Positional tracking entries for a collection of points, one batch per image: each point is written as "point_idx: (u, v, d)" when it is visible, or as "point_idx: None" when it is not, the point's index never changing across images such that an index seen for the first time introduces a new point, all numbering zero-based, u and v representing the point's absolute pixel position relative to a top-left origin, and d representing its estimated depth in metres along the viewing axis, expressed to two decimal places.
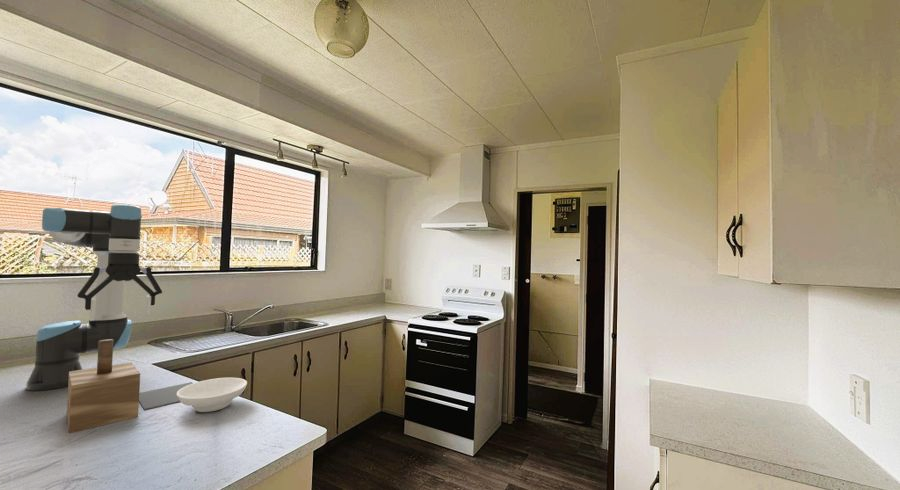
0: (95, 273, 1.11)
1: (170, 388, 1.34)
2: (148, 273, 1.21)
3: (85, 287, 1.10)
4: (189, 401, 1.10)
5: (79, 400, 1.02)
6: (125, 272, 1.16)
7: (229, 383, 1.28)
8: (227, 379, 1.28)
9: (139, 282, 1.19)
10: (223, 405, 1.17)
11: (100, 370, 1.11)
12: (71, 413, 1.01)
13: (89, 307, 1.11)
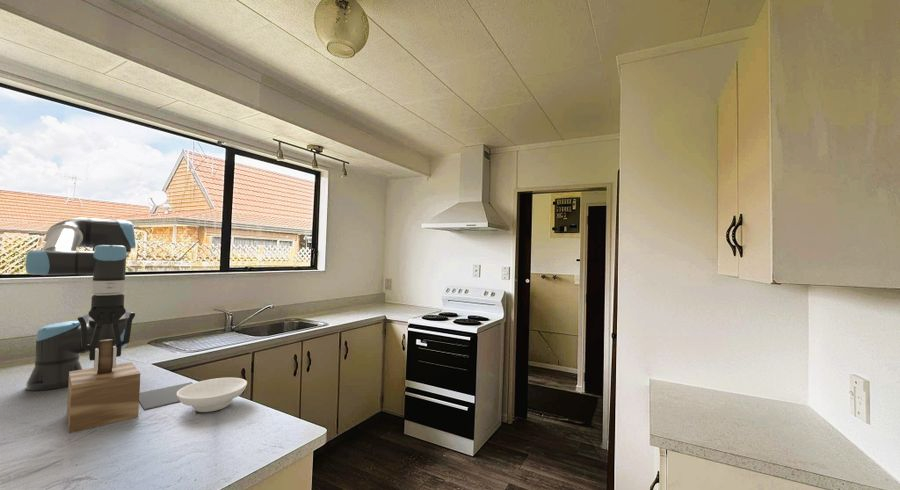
0: (82, 323, 1.08)
1: (170, 388, 1.34)
2: (129, 319, 1.16)
3: (83, 338, 1.08)
4: (189, 401, 1.10)
5: (80, 400, 1.02)
6: (109, 313, 1.13)
7: (229, 383, 1.28)
8: (227, 379, 1.28)
9: (115, 328, 1.14)
10: (223, 405, 1.17)
11: (100, 370, 1.11)
12: (71, 413, 1.01)
13: (93, 357, 1.10)
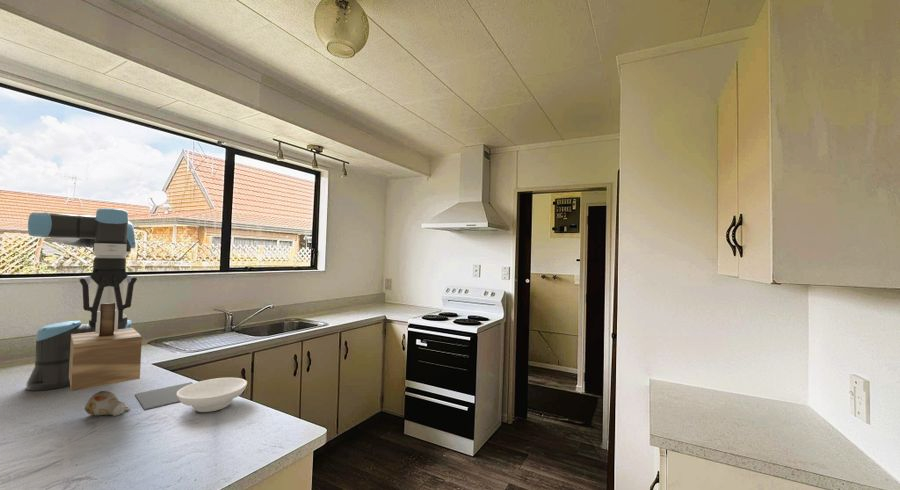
0: (84, 284, 1.09)
1: (170, 388, 1.34)
2: (131, 283, 1.17)
3: (85, 300, 1.09)
4: (189, 401, 1.10)
5: (81, 359, 1.03)
6: (111, 276, 1.14)
7: (229, 383, 1.28)
8: (227, 379, 1.28)
9: (116, 291, 1.14)
10: (223, 405, 1.17)
11: (102, 332, 1.12)
12: (73, 371, 1.02)
13: (95, 319, 1.11)
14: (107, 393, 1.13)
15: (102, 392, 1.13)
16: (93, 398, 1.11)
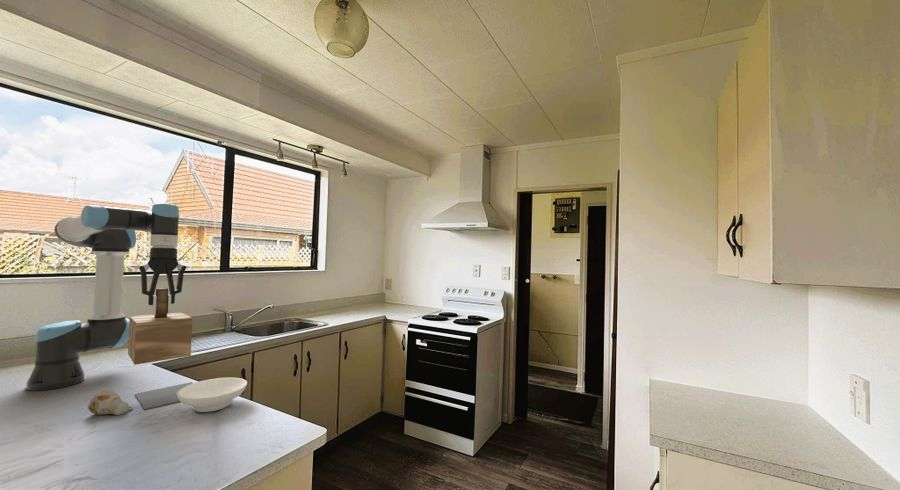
0: (142, 271, 1.22)
1: (170, 388, 1.34)
2: (181, 271, 1.30)
3: (143, 285, 1.22)
4: (189, 401, 1.10)
5: (143, 337, 1.16)
6: (165, 264, 1.27)
7: (229, 383, 1.28)
8: (227, 379, 1.28)
9: (169, 277, 1.27)
10: (223, 405, 1.17)
11: (157, 314, 1.25)
12: (136, 347, 1.15)
13: (152, 303, 1.24)
14: (110, 392, 1.14)
15: (105, 391, 1.14)
16: (96, 397, 1.11)
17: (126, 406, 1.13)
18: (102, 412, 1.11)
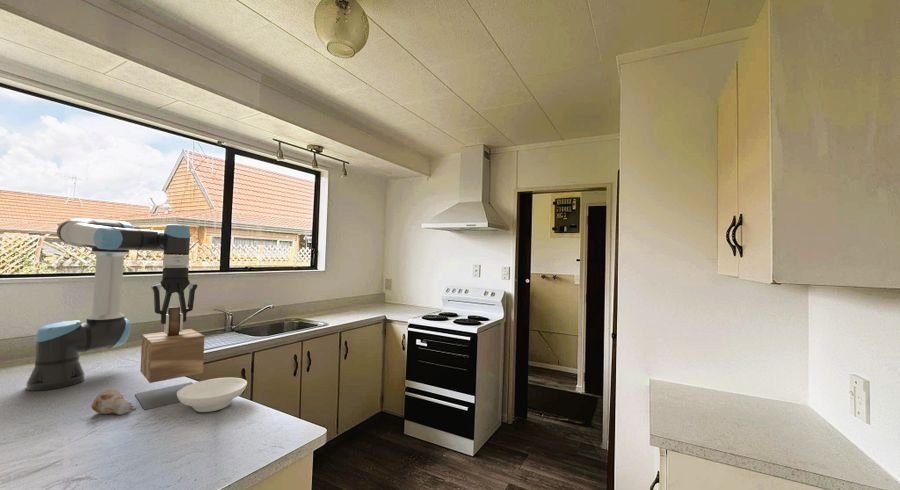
0: (156, 291, 1.25)
1: (170, 388, 1.34)
2: (192, 289, 1.33)
3: (156, 304, 1.25)
4: (189, 401, 1.10)
5: (157, 355, 1.19)
6: (177, 283, 1.30)
7: (229, 383, 1.28)
8: (227, 379, 1.28)
9: (181, 296, 1.31)
10: (223, 405, 1.17)
11: (170, 332, 1.28)
12: (151, 366, 1.18)
13: (164, 321, 1.27)
14: (113, 391, 1.15)
15: (109, 391, 1.14)
16: (99, 397, 1.12)
17: (128, 406, 1.14)
18: (105, 411, 1.12)
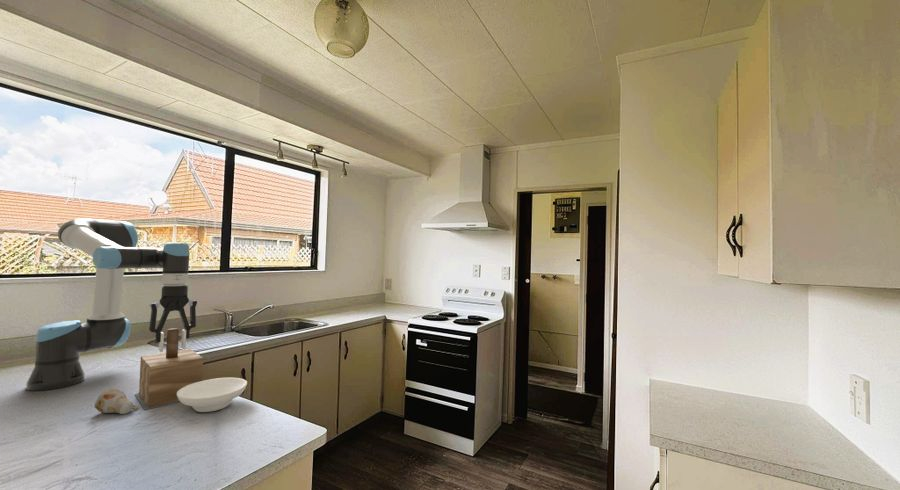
0: (154, 309, 1.25)
1: None
2: (193, 306, 1.33)
3: (152, 322, 1.25)
4: (189, 401, 1.10)
5: (156, 379, 1.19)
6: (176, 302, 1.30)
7: (229, 383, 1.28)
8: (227, 379, 1.28)
9: (182, 314, 1.31)
10: (223, 405, 1.17)
11: (169, 355, 1.28)
12: (150, 390, 1.18)
13: (159, 340, 1.26)
14: (116, 391, 1.15)
15: (111, 390, 1.15)
16: (102, 396, 1.12)
17: (131, 405, 1.14)
18: (108, 411, 1.12)
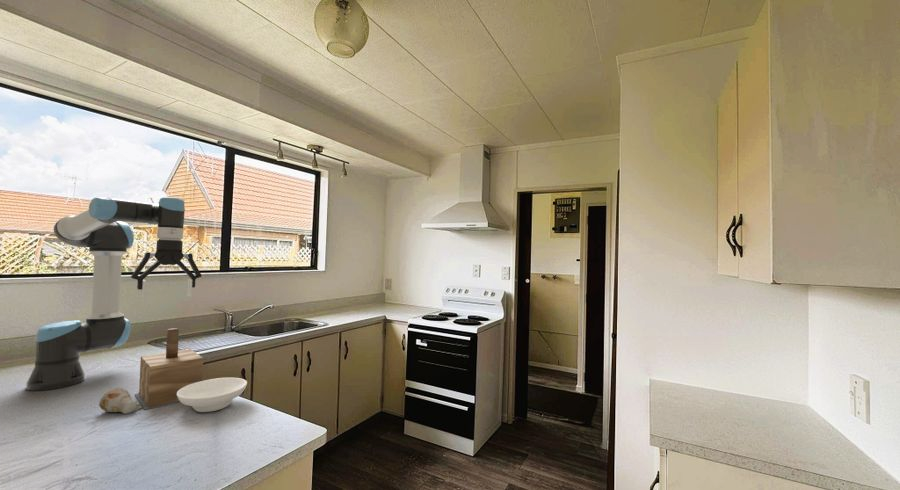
0: (146, 257, 1.26)
1: None
2: (190, 259, 1.36)
3: (138, 269, 1.24)
4: (189, 401, 1.10)
5: (156, 379, 1.19)
6: (171, 257, 1.31)
7: (229, 383, 1.28)
8: (227, 379, 1.28)
9: (182, 266, 1.34)
10: (223, 405, 1.17)
11: (169, 355, 1.28)
12: (150, 390, 1.18)
13: (141, 287, 1.25)
14: (120, 390, 1.16)
15: (116, 389, 1.15)
16: (106, 395, 1.13)
17: (134, 405, 1.14)
18: (112, 410, 1.13)
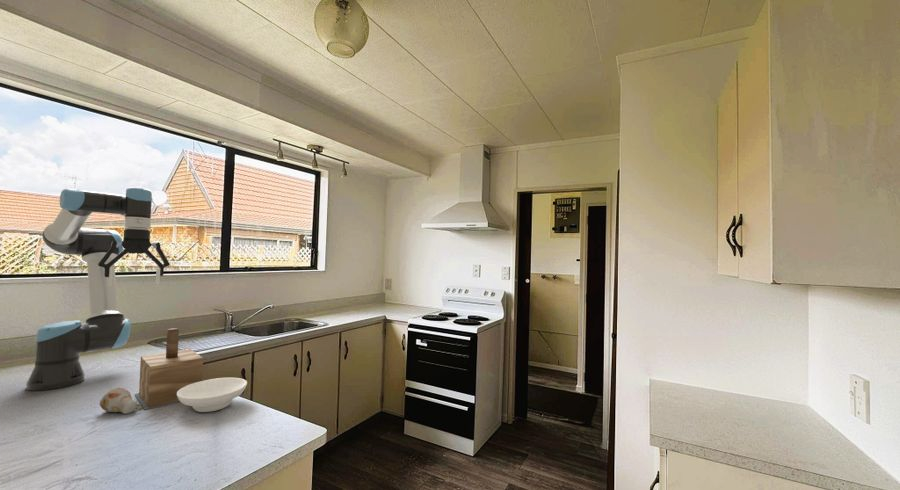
0: (113, 246, 1.30)
1: None
2: (158, 248, 1.39)
3: (104, 257, 1.28)
4: (189, 401, 1.10)
5: (156, 379, 1.19)
6: (138, 246, 1.35)
7: (229, 383, 1.28)
8: (227, 379, 1.28)
9: (150, 255, 1.38)
10: (223, 405, 1.17)
11: (169, 355, 1.28)
12: (150, 390, 1.18)
13: (108, 275, 1.29)
14: (120, 390, 1.16)
15: (116, 389, 1.16)
16: (107, 395, 1.13)
17: (134, 405, 1.14)
18: (112, 410, 1.13)
